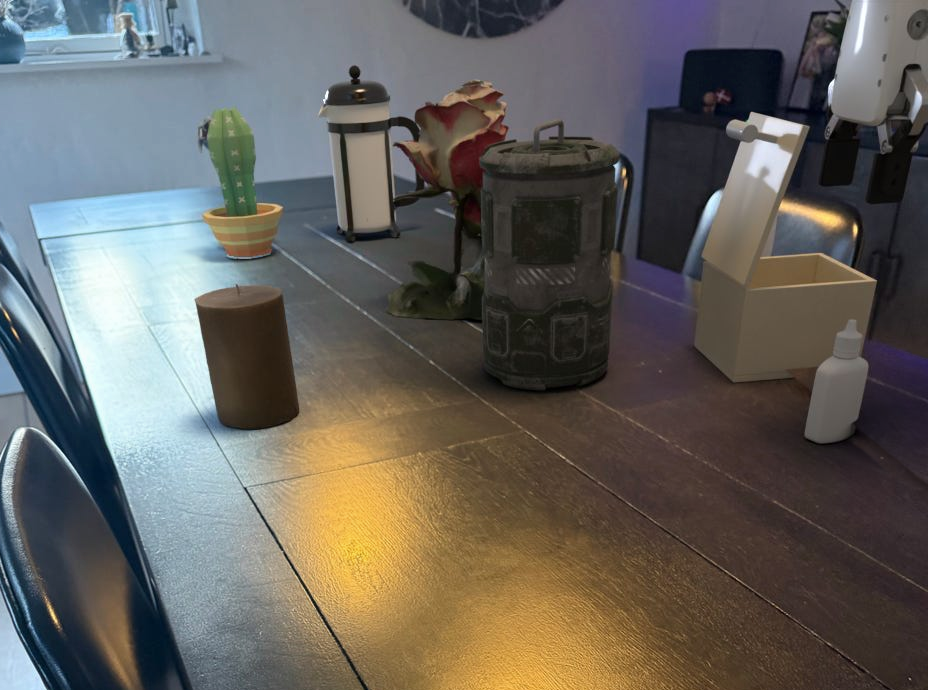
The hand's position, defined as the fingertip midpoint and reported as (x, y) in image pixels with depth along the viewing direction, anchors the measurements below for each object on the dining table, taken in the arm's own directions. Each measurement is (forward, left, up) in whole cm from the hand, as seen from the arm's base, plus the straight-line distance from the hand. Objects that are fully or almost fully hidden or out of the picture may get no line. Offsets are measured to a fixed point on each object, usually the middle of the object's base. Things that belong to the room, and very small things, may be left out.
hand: (857, 193), depth 86 cm
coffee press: (+42, -117, -23) cm, 126 cm away
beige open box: (-5, -23, -23) cm, 33 cm away
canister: (+24, -25, -23) cm, 42 cm away
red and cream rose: (+26, -61, -23) cm, 70 cm away
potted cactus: (+67, -106, -23) cm, 127 cm away
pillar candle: (+60, -18, -23) cm, 67 cm away
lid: (+1, -23, -4) cm, 23 cm away
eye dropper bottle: (-1, +2, -23) cm, 23 cm away
